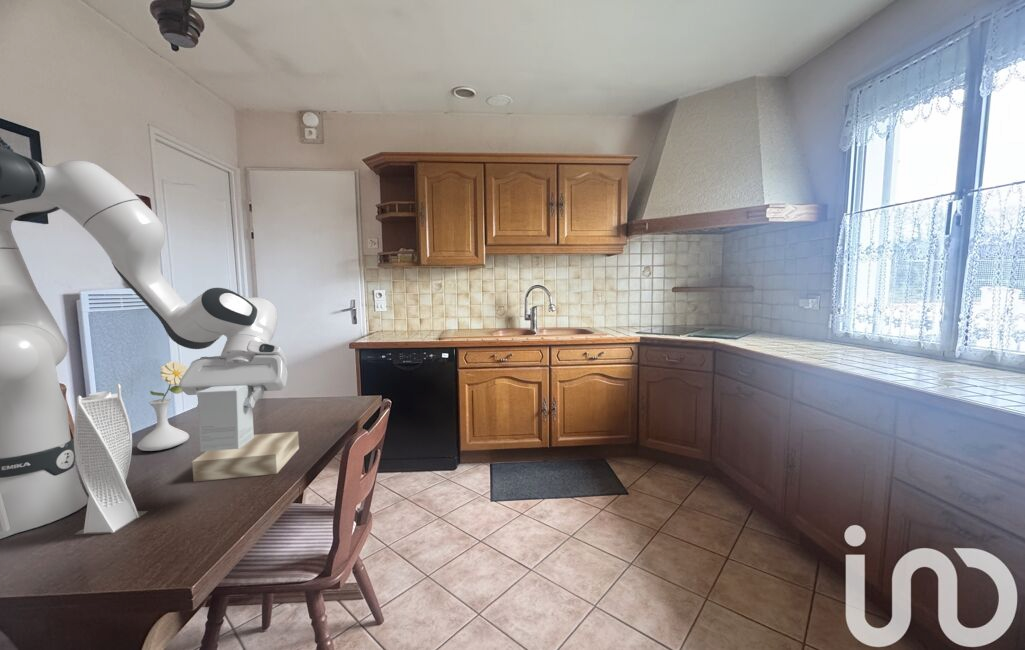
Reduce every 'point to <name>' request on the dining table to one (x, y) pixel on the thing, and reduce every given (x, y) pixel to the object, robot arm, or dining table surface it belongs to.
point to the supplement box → (224, 417)
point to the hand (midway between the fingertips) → (225, 408)
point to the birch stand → (247, 458)
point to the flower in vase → (165, 413)
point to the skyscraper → (104, 461)
